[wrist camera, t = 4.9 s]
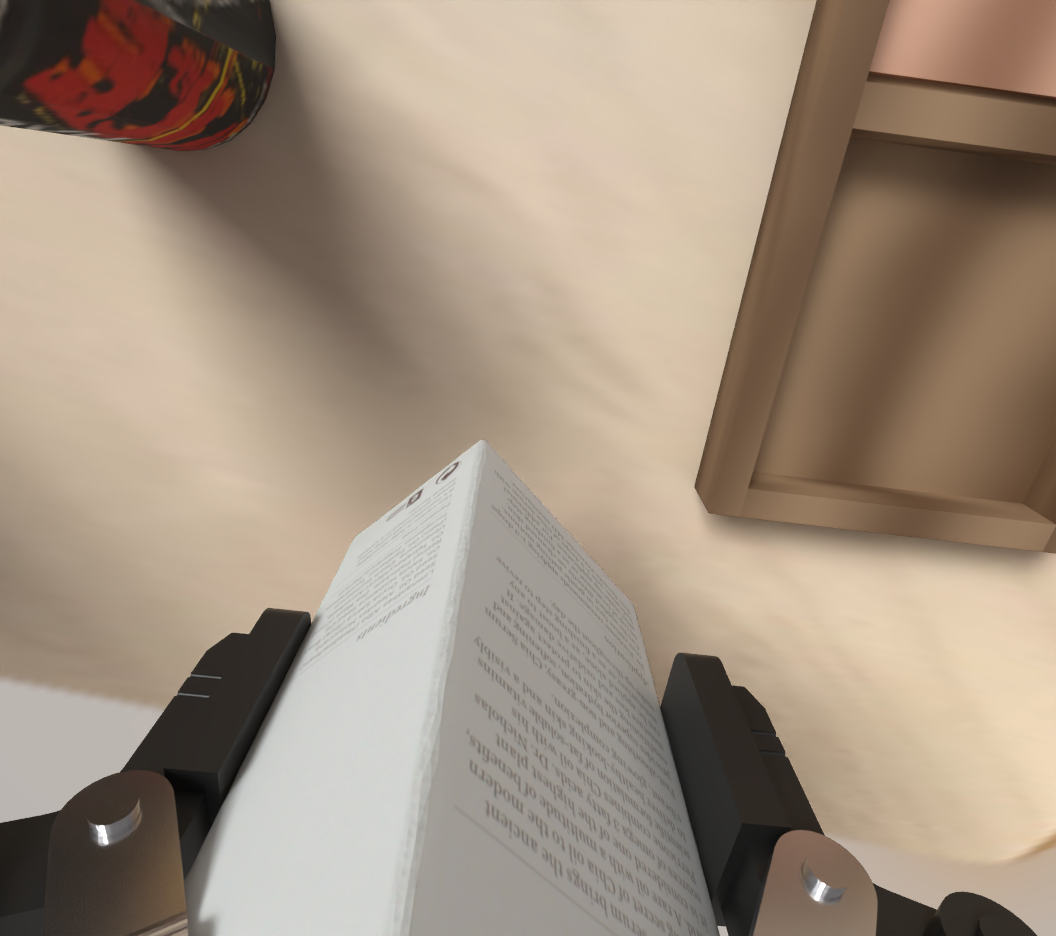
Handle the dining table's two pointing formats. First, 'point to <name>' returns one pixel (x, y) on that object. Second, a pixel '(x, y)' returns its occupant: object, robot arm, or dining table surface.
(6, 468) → the dining table surface
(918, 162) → the two-section desk tray
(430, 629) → the skincare box
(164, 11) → the deodorant
